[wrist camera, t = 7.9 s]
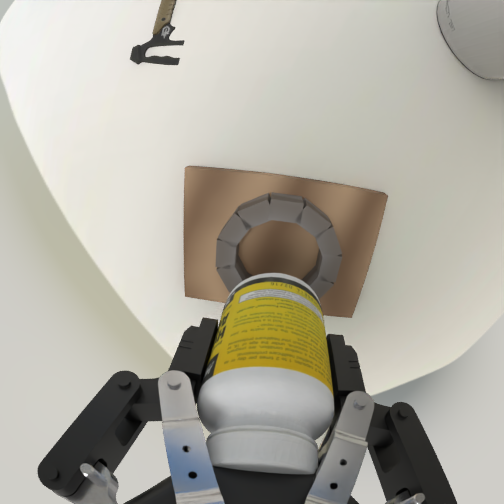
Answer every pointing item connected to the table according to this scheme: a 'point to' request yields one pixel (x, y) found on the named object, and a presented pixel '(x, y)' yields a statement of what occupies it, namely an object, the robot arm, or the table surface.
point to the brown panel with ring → (278, 233)
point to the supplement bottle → (268, 378)
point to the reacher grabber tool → (159, 37)
